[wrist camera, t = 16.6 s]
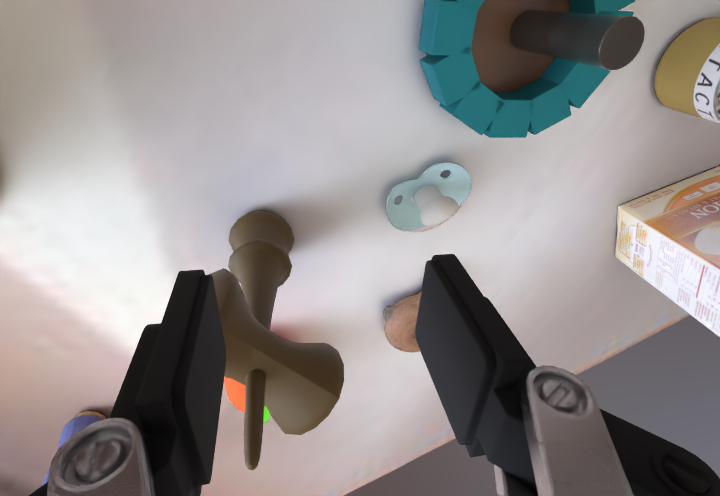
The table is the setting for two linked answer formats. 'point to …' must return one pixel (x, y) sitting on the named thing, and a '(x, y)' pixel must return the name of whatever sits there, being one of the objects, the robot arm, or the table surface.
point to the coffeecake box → (677, 243)
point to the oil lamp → (402, 323)
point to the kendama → (270, 337)
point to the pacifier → (428, 198)
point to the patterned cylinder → (692, 72)
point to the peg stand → (547, 40)
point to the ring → (501, 109)
